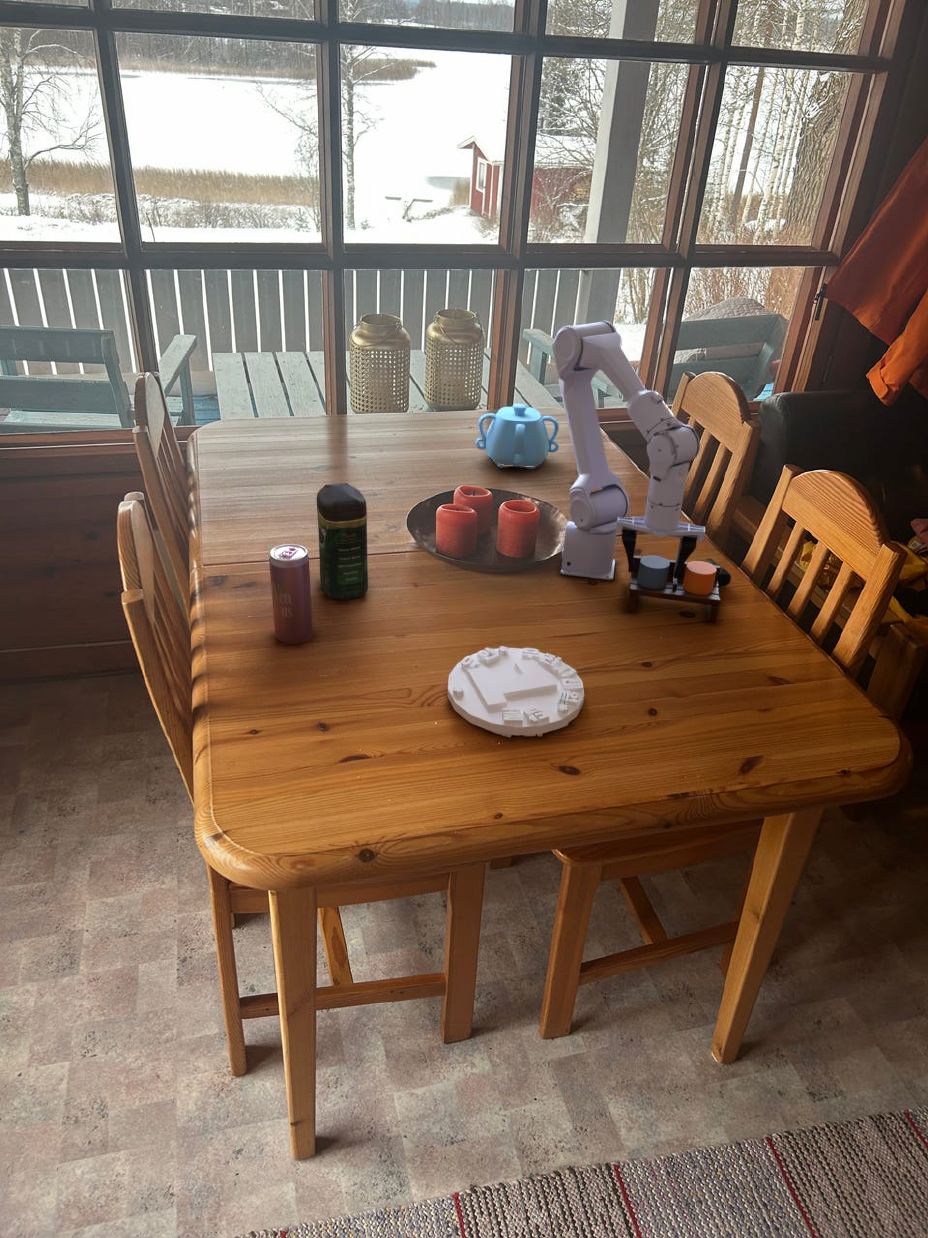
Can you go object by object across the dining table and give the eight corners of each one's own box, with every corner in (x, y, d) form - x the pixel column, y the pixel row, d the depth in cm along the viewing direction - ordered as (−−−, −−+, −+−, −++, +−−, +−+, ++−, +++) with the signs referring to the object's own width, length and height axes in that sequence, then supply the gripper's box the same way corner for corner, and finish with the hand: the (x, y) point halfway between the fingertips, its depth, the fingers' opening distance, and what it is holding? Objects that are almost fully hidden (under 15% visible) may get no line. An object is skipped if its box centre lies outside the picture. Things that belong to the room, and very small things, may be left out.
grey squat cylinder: (636, 587, 157) (639, 566, 154) (637, 573, 161) (640, 553, 159) (666, 591, 156) (669, 570, 154) (666, 577, 160) (670, 557, 158)
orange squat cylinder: (683, 593, 155) (686, 572, 153) (682, 579, 160) (686, 559, 158) (713, 596, 155) (717, 576, 153) (712, 583, 159) (716, 562, 157)
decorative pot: (564, 465, 215) (570, 409, 208) (512, 479, 206) (516, 420, 199) (519, 444, 226) (524, 390, 219) (468, 456, 217) (471, 400, 210)
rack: (626, 612, 157) (631, 578, 154) (628, 587, 165) (633, 555, 161) (715, 623, 155) (722, 590, 152) (713, 598, 162) (720, 565, 159)
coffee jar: (373, 598, 158) (372, 498, 148) (328, 604, 155) (323, 504, 146) (359, 572, 166) (357, 476, 156) (316, 578, 163) (311, 481, 154)
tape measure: (730, 590, 165) (734, 572, 163) (697, 595, 163) (700, 576, 161) (710, 573, 171) (714, 555, 169) (678, 577, 169) (681, 559, 167)
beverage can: (319, 630, 148) (315, 547, 141) (302, 648, 143) (296, 564, 136) (286, 623, 150) (280, 540, 142) (268, 641, 145) (261, 556, 137)
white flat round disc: (450, 656, 143) (451, 640, 141) (576, 662, 143) (578, 647, 141) (444, 736, 126) (445, 719, 124) (587, 743, 126) (590, 726, 124)
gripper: (619, 504, 148) (609, 578, 155) (710, 514, 146) (696, 588, 153) (621, 487, 154) (611, 559, 161) (709, 497, 152) (695, 569, 159)
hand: (653, 572), depth 157 cm, fingers open, 7 cm apart
